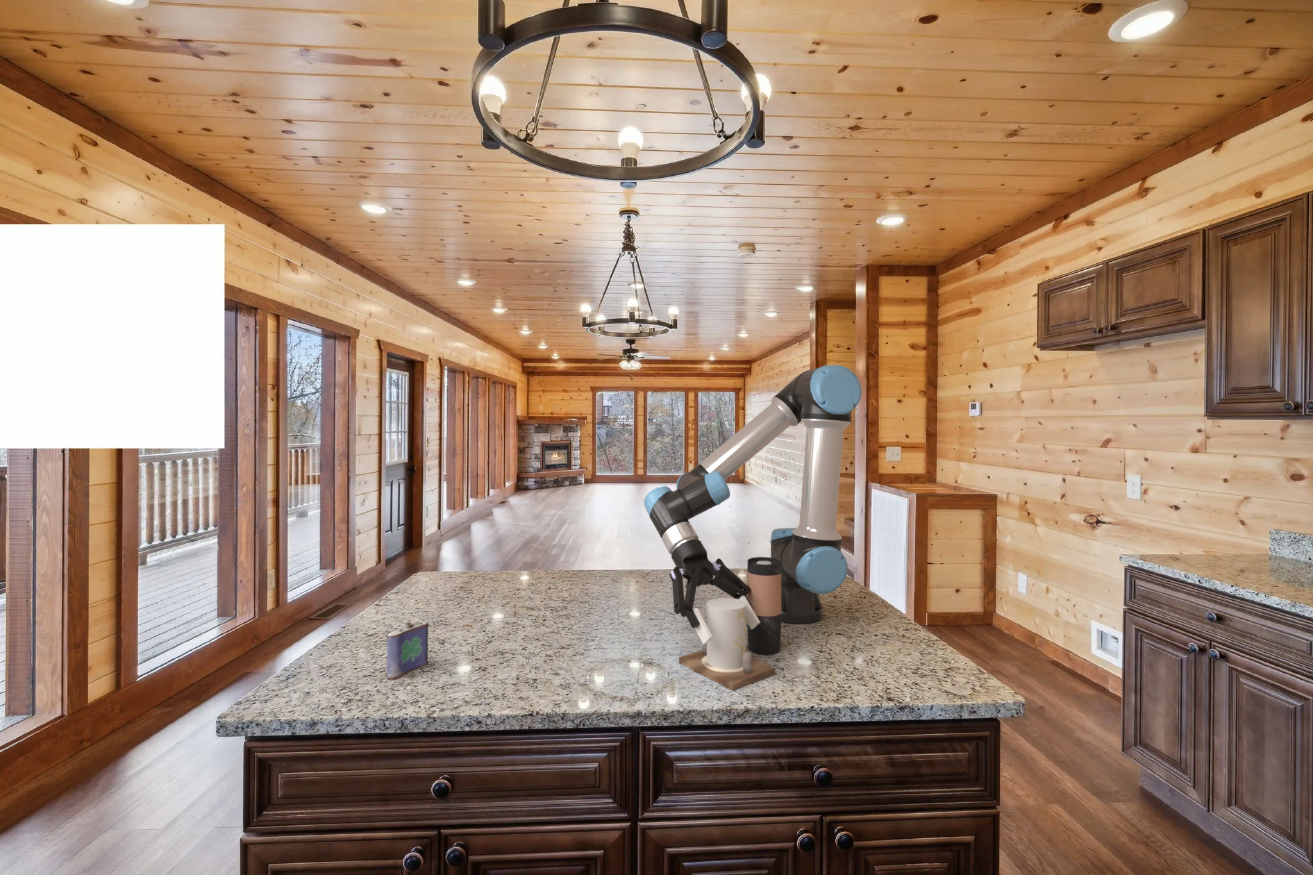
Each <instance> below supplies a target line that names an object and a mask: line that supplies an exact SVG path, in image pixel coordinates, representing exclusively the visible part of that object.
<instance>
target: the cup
mask: <svg viewBox="0 0 1313 875" xmlns="http://www.w3.org/2000/svg"><path fill="white" fill-rule="evenodd" d="M706 625H707V627H708V629H709V631H710V633H711V635H712V636H713V637H712V638H711V639H710V640H709V641H708V642H707V663H708V664H709V665H711V666H713V667H716V668H720V669H737V668H741V667H743V652H744V651H747V622H746V603H745V602H744V601H742V600H739V599H735V598H733V597H717V598H716V597H715V598H710V599H709V600H707V601H706Z"/></svg>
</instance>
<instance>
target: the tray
mask: <svg viewBox="0 0 1313 875" xmlns="http://www.w3.org/2000/svg"><path fill="white" fill-rule="evenodd" d="M680 663H681V665H682V666H684V665H685V666H684V667H685V668H688V667H689V668H688V669H690V670H692V671H694V672H696V673H698V674H699V675H701V676H704V677H706V678H708V679H709V680H711V681H713V682H715V683H718V684H719V685H721V686H722V687H725V688H726V689H729V690H730V691H731V692H732V691H735V690H738V689H740V688H742V687H745V686H747V685H751V684H753V683H755V682H758V681H761V680H764V679H766V678H769V677H771V676H774V675H775V674H776V668H775V667H774V666H771V665H769V664H766V663H764V662H762V661H760V660H757V659H756V658H754V657H752V652H751V651H750V650H746V651H744V652H743V667H741V668H737V669H720V668H716V667H713V666H711V665H709V664H708V663H707V643H706V644H703V643H702V649H701V650H698V651H695V652H691V653H688V654H685V655H682V656H679V657H678V664H680Z"/></svg>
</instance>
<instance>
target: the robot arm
mask: <svg viewBox="0 0 1313 875" xmlns="http://www.w3.org/2000/svg"><path fill="white" fill-rule="evenodd" d="M862 391H863V390H862V385H861V382H860V379H859V377H858V376H857V375H856V374H855V373H854V371H852V369H850V368H849V367H846V366H843V365H839V364H829V365H828V364H825V365H822V366H821V367H816V368H812V369H807V370H806V371H803V372H801V373H800V374H797V376H795V377H794V378H793V379H792V380H790V382H789V383H787V385H785V386H784V387H783V388H782V389H781V390H780V391H778V393H776V395H774V396H773V397H772V398H771V403H770V405H768V406H767V407H766V408H765V409H763V410H762V411H761V412H760V413H758V414H757V415H756V416H755V417H753V418H752V419H751V420H750V421H749V422H748V423H747V424H745V425H744V426H743V427H742V428H740V429H739V430H738V431H737V432H736V433H734V435H732V436H731V437H730V438H729V439H727V440H726V441H725V442H724V443H723V444H721V445H720V446H719V447H717V448H716V449H715V450H714V451H713V452H712V453H710V454H709V455H708V456H707V457H706V458H705V459H703V460H702V461H701V462H700V463H699V464H697V465H696V466H694V467H693V469H691V470H690V471H687V472H684V473H683V474H681V475H680V476H679V477H678V479H677V480H676V483H675V484H676V486H675V487H676V489H675V490H672V489H671V488H670V487H668V486H667V485H664V486H663V485H662V486H660V487H659V486H658V487H655V488H654V489H652V490H650V491H649V492H648V493H647V494H646V496H645V497H644V499H643V505H644V508H645V511H646V512H647V514H648V516H649V519H650V520H651V522H652V524H653V526H654V528H655V530H656V531H657V533H658V535H659V536H660V538H661V541H662V542H663V544H664V546H665V548H666V549H667V552H668V554H670V556H671V559H672V562H673V563H674V565H675V567H674V568H673V569H672V570H671V571H670V572H669V574H668V575H669V577H670V579H671V582H672V595H673V596H672V598H673V612H674V613H675V614H676V615H679V614H680V615H681V617H683V618H685V617H686V619H687V620H688V623H689V625H690V627H691V628H692V629H695V631H696V633H697V634H698V637H699V639H700V641H701V643H702V645H703V644H706V643H707V642H708V641H709V640H710V639H711V638H712V637H713V636H712V635H711V633H710V631H709V629H708V627H707V622H706V621H705V620H704V618H703V615H702V614H701V613H700V612H701V611H700V610H699V609H698V607H695V608H694V604H695V598H696V591H697V588H698V587H701V586H707V585H710V586H715V587H716V588H718V589H719V590H721V591H723V592H724V593H726V594H727V595H729V596H730V597H731V598H734V599H739V600H742V601H744V602H745V603H746V624H747V623H748V625H749V627H750V629H754V628H755V627H756V626H757V625H758V624H759V623H760V621H759V619H758V618H757V616H756V614H755V613H754V611H753V606H752V605H751V603H750V601H749V600H748V598H747V594H748V593H749V592H750V590H751V589H750V587H748V586H747V583H745V582H744V581H743V580H742V579H741V578H739V576H737V575H736V573H734V572H733V571H732V570H731V569H730V568H729V567H727V566H726V565H725V563H724V562H723V560H722V559H721V558H719V557H718V558H717V559H716V560H715V561H713V562H711V560H709V558H708V551H707V550H706V548H705V546H704V544H703V543H702V540H700V538H699V536H698V534H697V532H696V531H695V529H694V527H693V525H692V524H691V522H690V521H689V520H690V519H692V518H694V517H696V516H698V515H701V514H702V513H704V512H707V511H708V510H710V509H712V508H715V507H717V506H719V505H721V504H722V503H724V502H725V501H726V500H728V499H730V497H731V490H730V488H729V485H728V483H727V481H726V480H727V479H728V478H729V477H730V476H732V475H733V474H735V473H736V472H737V471H738V470H739V469H741V467H743V466H744V465H745V464H747V463H748V461H750V460H751V459H752V458H753V457H755V456H756V455H757V454H758V453H759V452H761V451H762V450H763V449H764V448H766V446H768V445H769V444H770V443H771V442H773V441H774V440H775V439H777V437H779V436H780V435H781V434H782V433H784V432H785V431H786V430H787V429H788V428H789V427H796V426H798V425H799V424H801V423H802V424H803V425H804V426H805V427H806V434H805V445H804V446H805V447H804V458H803V470H802V471H803V473H802V474H803V475H802V486H801V487H802V488H801V501H800V510H799V511H800V512H799V524H798V526H797V527H783V528H774V529H772V531H771V535H770V541H769V542H770V558H775V559H778V560H780V561H781V623H785V624H786V623H788V624H811V623H816V622H819V621H820V620H822V618H823V606H822V603H821V600H820V597H819V595H827V594H830V593H833V592H834V591H836V590H837V589H838V588H840V587H841V586H842V585H843V584H844V582H845V581H846V579H847V575H848V570H849V566H848V562H847V559H846V557H845V555H844V554H843V552H842V541H843V538H842V536H841V534H840V532H838V531H837V519H838V518H837V516H838V507H839V504H838V503H839V494H840V492H839V491H840V479H841V468H842V456H843V455H842V454H843V444H844V443H843V442H844V431H845V429H846V428H848V427H849V426H850V425H851V424H852V416H853V415H852V413H853V411H854V410H855V408H856V407H857V406H858V405H859V403H860V401H861V397H862V395H863V394H862ZM683 578H684V579H685V580H687V581H686V586H685V589H686V590H685V589H684V579H683ZM684 590H685V591H684Z"/></svg>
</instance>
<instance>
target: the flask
mask: <svg viewBox="0 0 1313 875" xmlns="http://www.w3.org/2000/svg"><path fill="white" fill-rule="evenodd" d="M402 621H403V624H402V627H400V628H398V629H396V630H394V631H391V632H389V633H387V635H386V636H387V638H386V639H387V640H386V641H387V642H386V643H387V645H386V646H387V648H386V650H387V651H386V653H387V654H386V656H387V657H386V658H387V659H386V660H387V661H386V662H387V666H386V667H387V668H386V669H387V671H386V672H387V674H386V677H387V679H388V680H391V681H393V680H395V679H400V678H402V677H404V676H406V675H409V674H411V673H413V672H414V671H417V670H419V669H422V668H425V667H427V666H428V663H429V660H428V659H429V656H428V655H429V654H428V653H429V642H428V640H429V622H427V621H424V620H421V621H419V620H418V621H415V622H411V620H410V618H408V617H405V618H403V619H402Z"/></svg>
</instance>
